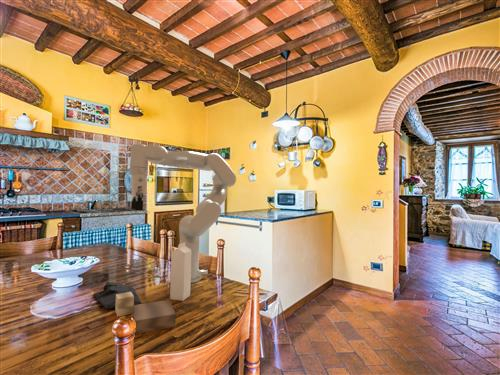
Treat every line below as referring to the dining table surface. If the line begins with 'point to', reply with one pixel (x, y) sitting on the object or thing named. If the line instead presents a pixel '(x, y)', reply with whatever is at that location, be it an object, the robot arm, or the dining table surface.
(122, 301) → the beech block
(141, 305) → the walnut base
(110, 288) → the dark slate chunk
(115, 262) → the dining table surface
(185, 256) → the milk
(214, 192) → the robot arm
